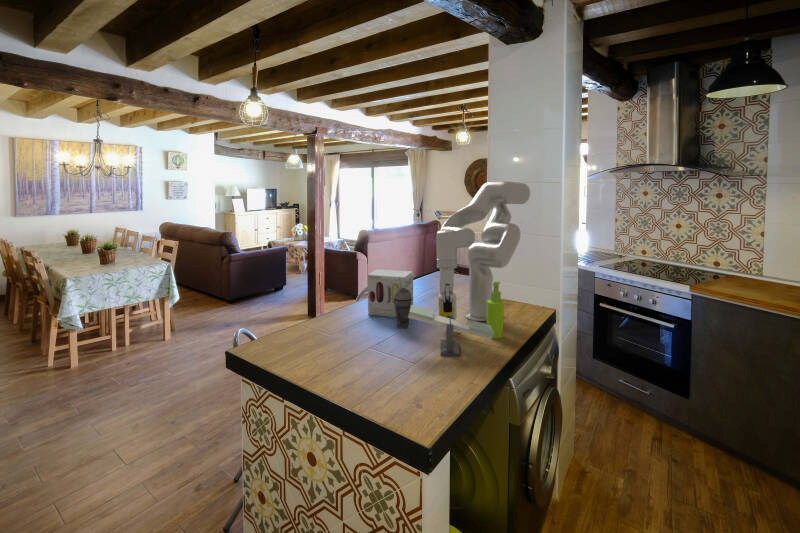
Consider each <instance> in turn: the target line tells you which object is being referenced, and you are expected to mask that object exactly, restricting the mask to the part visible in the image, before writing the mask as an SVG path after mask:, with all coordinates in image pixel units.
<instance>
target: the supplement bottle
mask: <svg viewBox="0 0 800 533" xmlns="http://www.w3.org/2000/svg"><path fill="white" fill-rule="evenodd" d="M453 291H454V288H453ZM445 294H446V292H445ZM449 294H450V292H449ZM445 297H446V296H445ZM443 302H444V294H442V295H441V294H440V293H439V294H438V316H442V317H446V318H447V316H452V319H453V320H457V295H456V293H455V292H453V294H452V295H451V302H452V312H443Z"/></svg>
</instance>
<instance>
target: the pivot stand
mask: <svg viewBox="0 0 800 533" xmlns="http://www.w3.org/2000/svg"><path fill="white" fill-rule="evenodd" d="M447 318H451V319H452V316H447ZM445 330H446V331H445V333H446V334H445V336H446V337H445V338H446V339H440V341H439V342H440V346H439V347H440V348H439V349H440V356H441V357H460V348H459V340H458V339H454V330H453V324H447V328H446V329H445Z"/></svg>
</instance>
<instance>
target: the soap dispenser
mask: <svg viewBox="0 0 800 533" xmlns="http://www.w3.org/2000/svg"><path fill="white" fill-rule="evenodd" d="M500 284H501V281H493V285H492V287H493V290H492V292H491V300H488V301H487V321H486V324H487V325H491V327H492V330H493V333H494V334H493V336H492V339H493V340H494V339H495V340H499V338H500V339H503V337H504V336H503V335H504V311H505V301H503V300H501V298H502V292H501V291H499V286H500ZM492 339H491V340H492Z"/></svg>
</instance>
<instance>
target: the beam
mask: <svg viewBox="0 0 800 533" xmlns="http://www.w3.org/2000/svg"><path fill="white" fill-rule="evenodd" d="M434 313H435V312H434V310H433V309H429V308H426V307H421V306H417V305H414V304H413V305H411V308H410V312H409V316H408V318H409V319H410V320H415V321H418V322H419V321H420V322H423V323H426V324H431V325H434V326H439V327H441V328H447V324H453V331H457V332H461V333H464V334H469V335H473V336H476V337H481V338H485V339H489V340H492V336H493V334H494V333H493V330H492V327H491V325H487V323H484V322H481V321H474V320H470V319H467V320H466V322H465V321H461V320H457V319H456V320H453V319H451V318H446V317H442V316H439V314H434Z"/></svg>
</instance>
